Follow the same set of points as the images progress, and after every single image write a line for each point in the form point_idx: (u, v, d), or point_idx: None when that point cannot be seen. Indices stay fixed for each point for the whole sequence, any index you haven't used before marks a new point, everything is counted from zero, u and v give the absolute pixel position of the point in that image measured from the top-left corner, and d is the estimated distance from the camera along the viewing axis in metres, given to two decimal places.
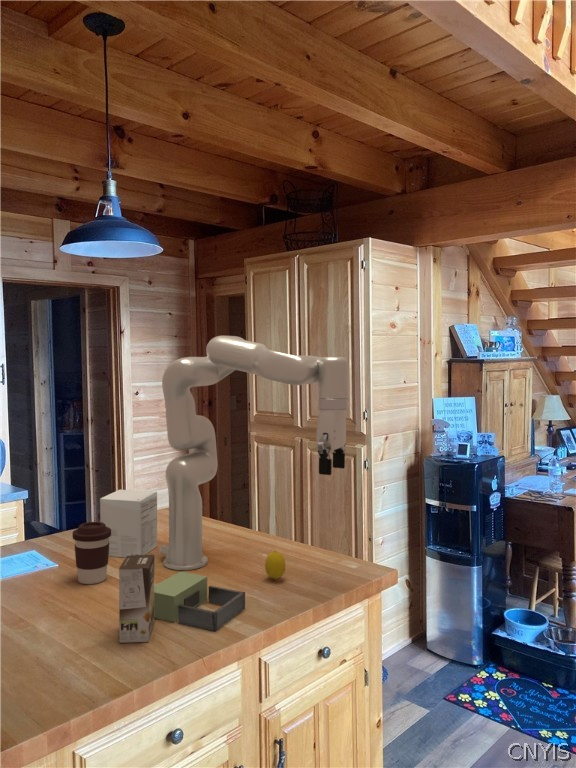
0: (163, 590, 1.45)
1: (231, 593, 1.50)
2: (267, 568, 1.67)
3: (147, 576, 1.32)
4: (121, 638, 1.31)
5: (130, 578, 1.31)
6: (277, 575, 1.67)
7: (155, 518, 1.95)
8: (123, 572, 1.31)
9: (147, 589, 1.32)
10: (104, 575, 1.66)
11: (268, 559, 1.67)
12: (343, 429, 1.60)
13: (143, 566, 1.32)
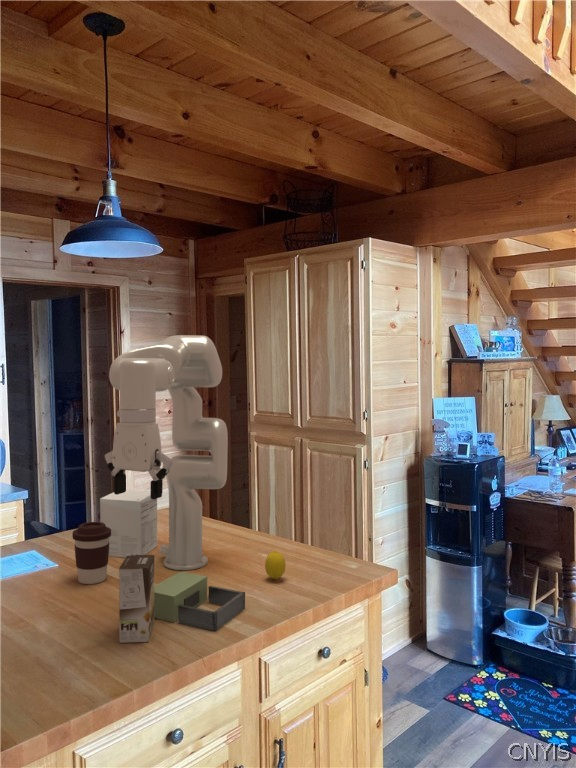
0: (163, 590, 1.45)
1: (231, 593, 1.50)
2: (267, 568, 1.67)
3: (147, 576, 1.32)
4: (121, 637, 1.31)
5: (130, 578, 1.31)
6: (277, 575, 1.67)
7: (155, 518, 1.95)
8: (123, 572, 1.31)
9: (147, 589, 1.32)
10: (104, 575, 1.66)
11: (268, 559, 1.67)
12: None
13: (143, 566, 1.32)
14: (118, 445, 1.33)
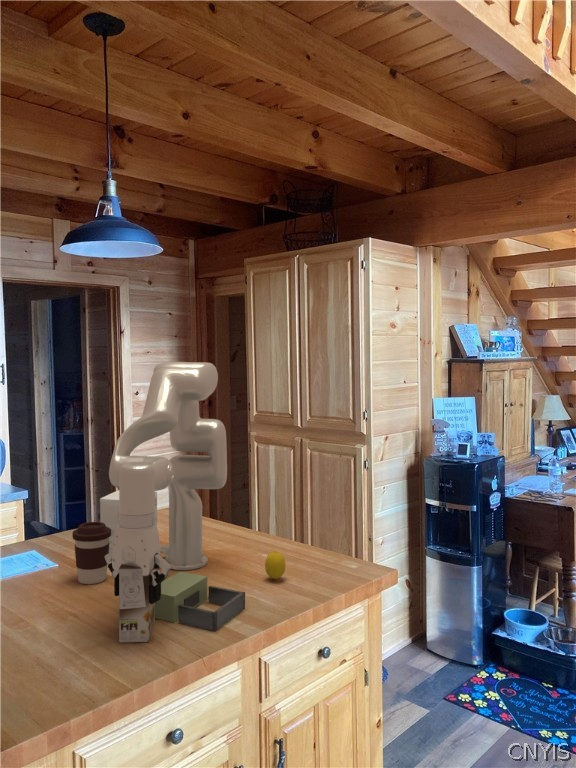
0: (163, 590, 1.45)
1: (231, 593, 1.50)
2: (267, 568, 1.67)
3: (147, 576, 1.32)
4: (121, 637, 1.31)
5: (129, 578, 1.31)
6: (277, 575, 1.67)
7: (155, 518, 1.95)
8: (123, 572, 1.31)
9: (147, 589, 1.32)
10: (104, 575, 1.66)
11: (268, 559, 1.67)
12: None
13: None
14: (118, 548, 1.34)
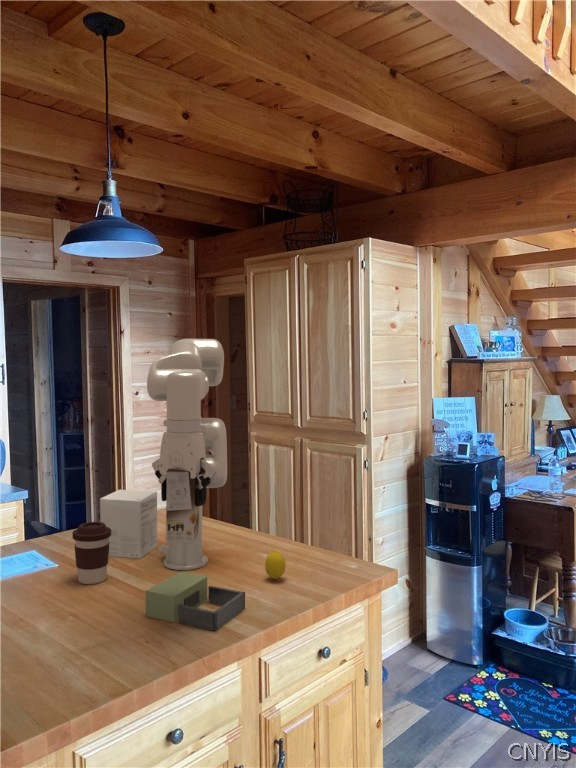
0: (163, 590, 1.45)
1: (231, 593, 1.50)
2: (267, 568, 1.67)
3: (193, 479, 1.36)
4: (168, 538, 1.37)
5: (176, 480, 1.36)
6: (277, 575, 1.67)
7: (155, 518, 1.95)
8: (170, 475, 1.36)
9: (193, 492, 1.36)
10: (104, 575, 1.66)
11: (268, 559, 1.67)
12: None
13: None
14: (165, 453, 1.39)
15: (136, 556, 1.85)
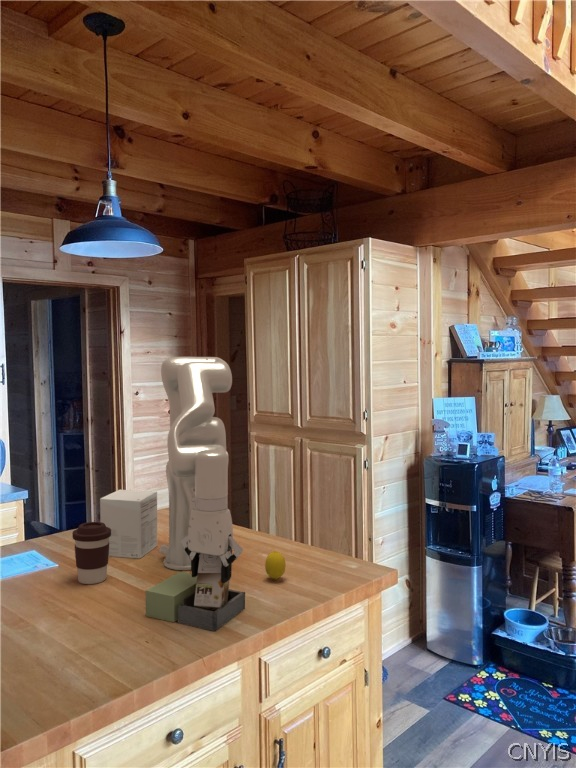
0: (163, 590, 1.45)
1: (231, 593, 1.50)
2: (267, 568, 1.67)
3: None
4: (196, 601, 1.42)
5: None
6: (277, 575, 1.67)
7: (155, 518, 1.95)
8: None
9: None
10: (104, 575, 1.66)
11: (268, 559, 1.67)
12: None
13: None
14: (193, 530, 1.44)
15: (136, 556, 1.85)
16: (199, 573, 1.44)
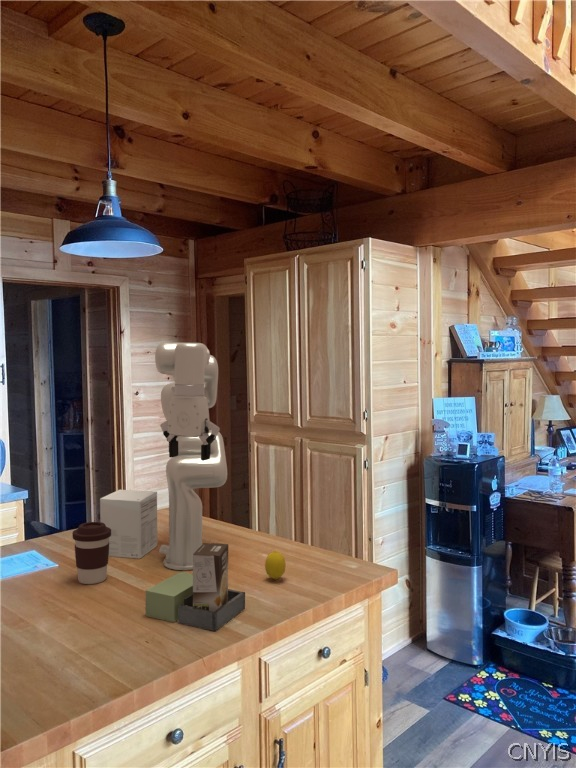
0: (163, 590, 1.45)
1: (231, 593, 1.50)
2: (267, 568, 1.67)
3: (218, 563, 1.40)
4: None
5: (202, 563, 1.40)
6: (277, 575, 1.67)
7: (155, 518, 1.95)
8: (196, 558, 1.41)
9: (218, 575, 1.40)
10: (104, 575, 1.66)
11: (268, 559, 1.67)
12: None
13: (215, 553, 1.41)
14: (173, 415, 1.58)
15: (136, 556, 1.85)
16: (194, 592, 1.41)
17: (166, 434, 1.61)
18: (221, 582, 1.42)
